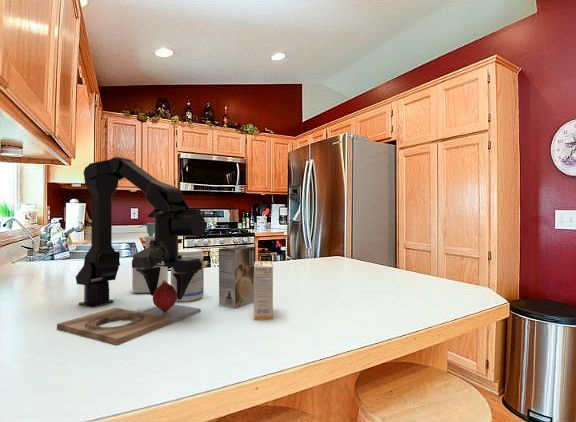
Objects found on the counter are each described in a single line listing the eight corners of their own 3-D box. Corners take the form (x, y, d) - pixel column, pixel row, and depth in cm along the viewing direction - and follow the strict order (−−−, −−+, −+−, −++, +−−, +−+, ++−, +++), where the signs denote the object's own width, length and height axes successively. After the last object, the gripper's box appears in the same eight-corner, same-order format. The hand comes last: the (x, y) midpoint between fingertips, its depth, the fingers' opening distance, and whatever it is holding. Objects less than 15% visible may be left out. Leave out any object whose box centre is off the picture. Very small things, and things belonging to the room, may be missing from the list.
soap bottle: (140, 288, 112) (140, 222, 112) (169, 287, 113) (169, 222, 113) (130, 294, 102) (130, 223, 103) (161, 294, 103) (161, 223, 104)
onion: (182, 309, 83) (181, 278, 83) (167, 316, 78) (166, 283, 78) (164, 307, 85) (163, 277, 85) (148, 314, 80) (147, 282, 80)
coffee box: (239, 298, 98) (239, 245, 98) (256, 301, 95) (256, 246, 95) (217, 305, 90) (218, 248, 90) (235, 309, 87) (235, 249, 87)
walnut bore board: (56, 329, 71) (56, 323, 71) (114, 312, 84) (114, 307, 84) (117, 345, 63) (117, 338, 63) (171, 323, 75) (171, 318, 75)
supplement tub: (209, 298, 98) (209, 250, 98) (179, 304, 91) (179, 252, 91) (194, 292, 105) (194, 247, 105) (165, 298, 98) (165, 249, 98)
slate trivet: (129, 318, 79) (129, 315, 79) (166, 306, 89) (167, 303, 89) (165, 325, 73) (165, 322, 73) (200, 311, 84) (200, 308, 84)
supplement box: (253, 310, 86) (254, 261, 86) (271, 309, 86) (272, 260, 86) (253, 320, 77) (253, 265, 78) (273, 319, 78) (273, 265, 78)
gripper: (112, 236, 78) (112, 300, 78) (169, 239, 70) (169, 310, 70) (150, 234, 89) (149, 290, 88) (203, 236, 80) (203, 298, 80)
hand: (166, 297), depth 81 cm, fingers open, 9 cm apart
